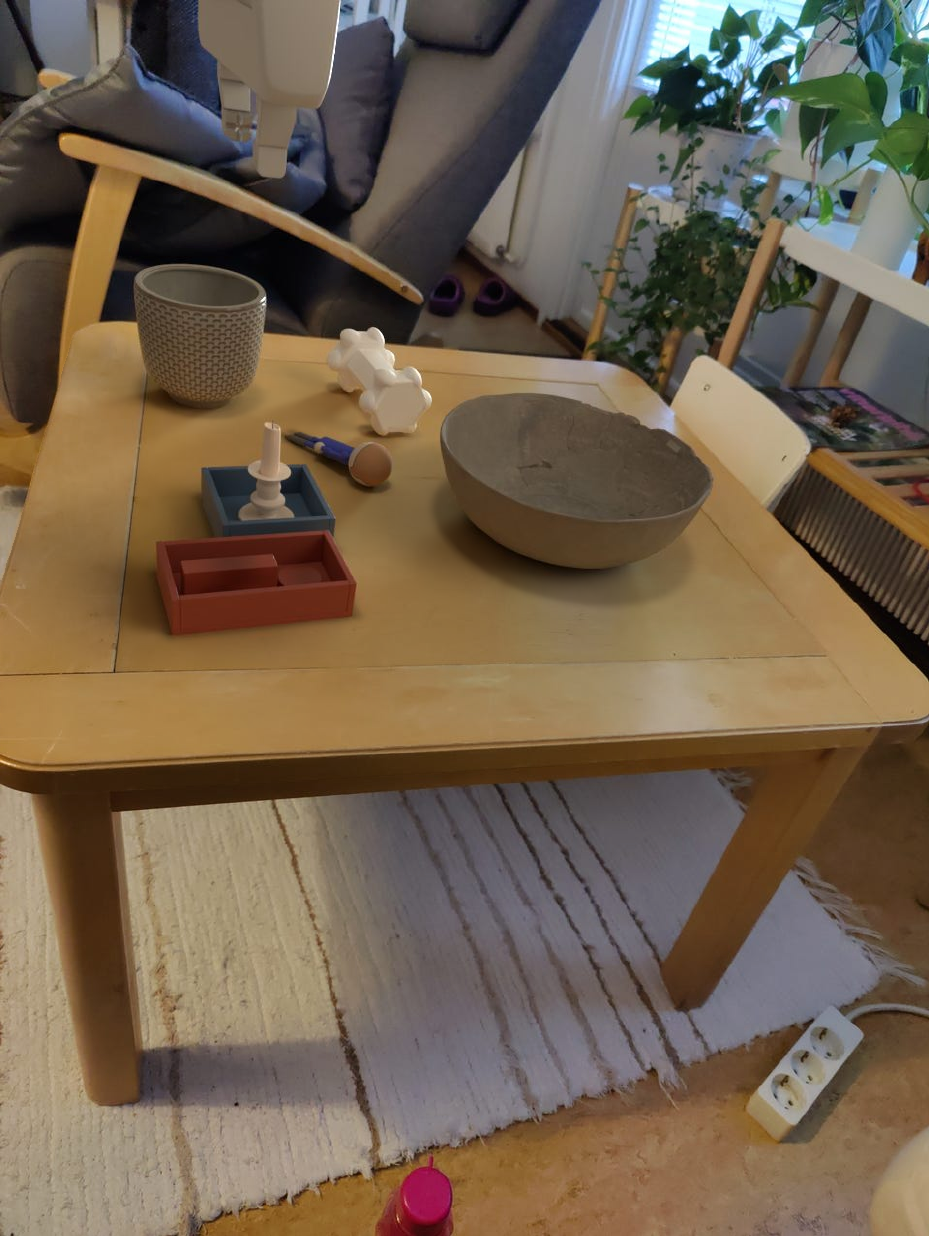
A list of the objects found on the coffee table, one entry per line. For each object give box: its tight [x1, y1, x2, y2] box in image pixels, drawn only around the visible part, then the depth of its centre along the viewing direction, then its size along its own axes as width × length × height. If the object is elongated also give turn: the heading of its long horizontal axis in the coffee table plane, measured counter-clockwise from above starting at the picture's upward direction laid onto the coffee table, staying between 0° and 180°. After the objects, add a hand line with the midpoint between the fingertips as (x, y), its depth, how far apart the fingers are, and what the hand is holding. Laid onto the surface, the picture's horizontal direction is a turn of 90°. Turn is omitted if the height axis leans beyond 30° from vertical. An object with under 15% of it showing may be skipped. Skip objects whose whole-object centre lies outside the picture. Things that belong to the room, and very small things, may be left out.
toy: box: [284, 431, 394, 487], centre depth 95 cm, size 5×5×15 cm
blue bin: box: [200, 463, 337, 539], centre depth 82 cm, size 10×10×4 cm
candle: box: [238, 419, 294, 521], centre depth 80 cm, size 5×5×10 cm
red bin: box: [155, 530, 357, 637], centre depth 73 cm, size 15×8×4 cm, turn 114°
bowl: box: [439, 392, 714, 570], centre depth 90 cm, size 28×28×10 cm
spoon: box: [180, 554, 322, 595], centre depth 73 cm, size 12×4×3 cm, turn 113°
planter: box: [133, 263, 268, 410], centre depth 98 cm, size 14×14×13 cm
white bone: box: [326, 326, 433, 437], centre depth 105 cm, size 15×9×8 cm, turn 26°
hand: (251, 156), depth 58 cm, fingers open, 8 cm apart
